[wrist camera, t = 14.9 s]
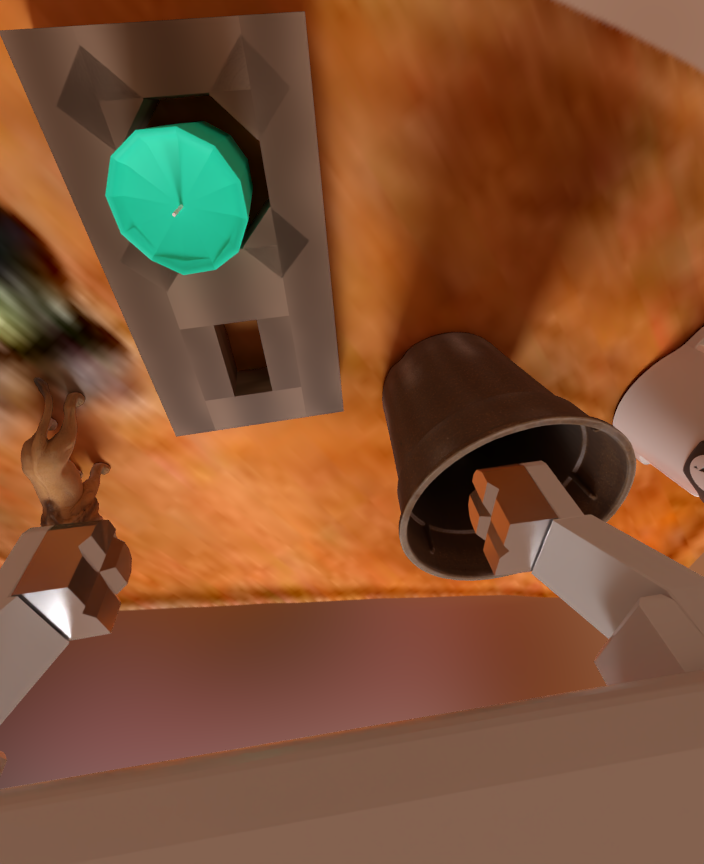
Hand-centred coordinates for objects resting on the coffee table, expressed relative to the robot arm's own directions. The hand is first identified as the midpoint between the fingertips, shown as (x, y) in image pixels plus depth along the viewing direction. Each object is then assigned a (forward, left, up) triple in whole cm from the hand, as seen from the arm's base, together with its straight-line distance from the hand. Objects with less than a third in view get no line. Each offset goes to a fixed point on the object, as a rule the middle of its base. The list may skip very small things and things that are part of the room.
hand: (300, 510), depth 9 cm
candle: (+4, -4, -26) cm, 27 cm away
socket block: (+4, +1, -26) cm, 26 cm away
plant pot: (-13, +15, -26) cm, 33 cm away
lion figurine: (+20, +16, -26) cm, 37 cm away
